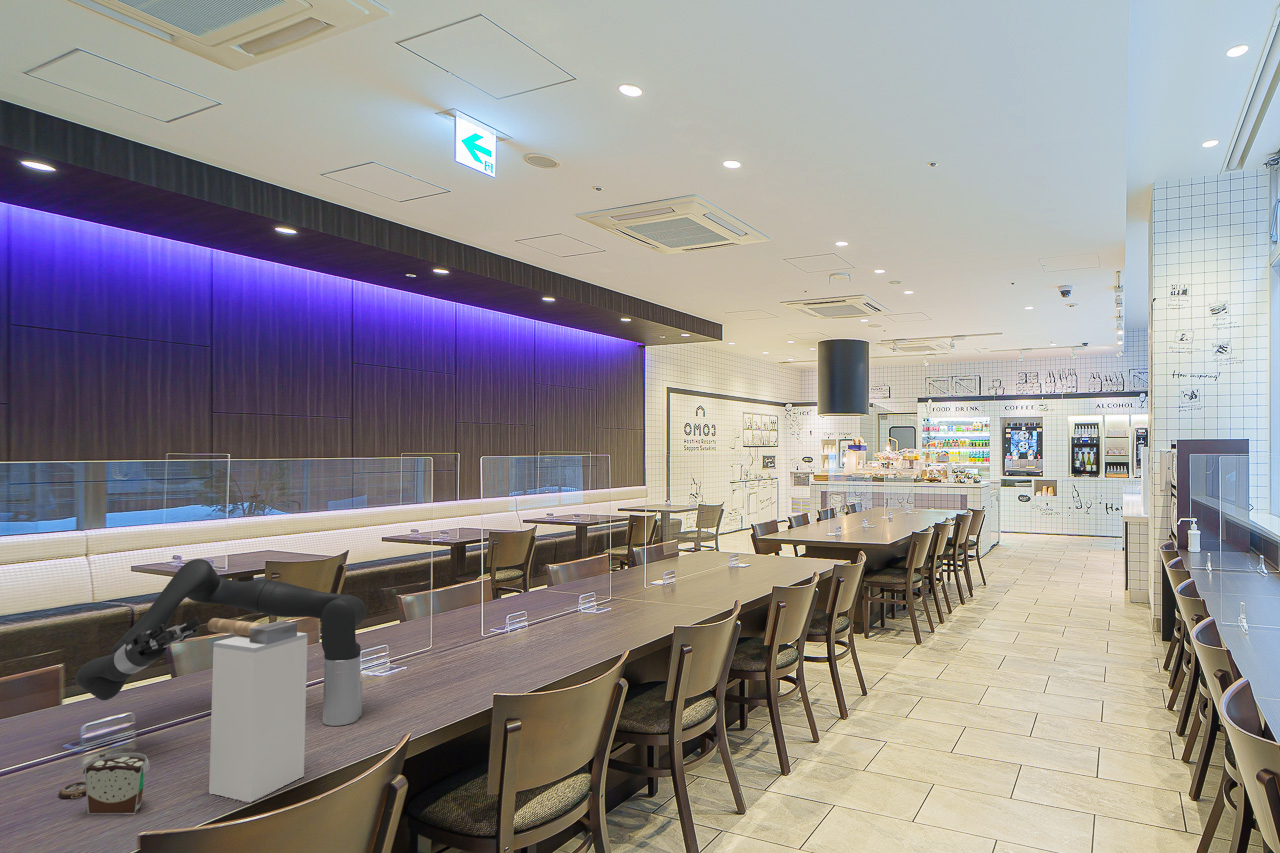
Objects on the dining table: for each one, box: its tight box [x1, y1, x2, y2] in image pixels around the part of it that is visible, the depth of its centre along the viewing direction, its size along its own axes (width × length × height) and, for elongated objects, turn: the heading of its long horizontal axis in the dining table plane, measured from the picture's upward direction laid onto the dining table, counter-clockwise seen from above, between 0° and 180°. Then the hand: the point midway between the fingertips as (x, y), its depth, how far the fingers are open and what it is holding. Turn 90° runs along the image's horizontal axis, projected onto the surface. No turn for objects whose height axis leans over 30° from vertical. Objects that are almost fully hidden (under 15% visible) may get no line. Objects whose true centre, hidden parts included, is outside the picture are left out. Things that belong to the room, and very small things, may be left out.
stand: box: [208, 631, 309, 802], centre depth 163 cm, size 14×12×32 cm
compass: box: [57, 753, 106, 799], centre depth 158 cm, size 8×8×7 cm
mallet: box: [207, 617, 298, 645], centre depth 165 cm, size 21×8×3 cm, turn 68°
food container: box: [81, 752, 150, 815], centre depth 152 cm, size 12×6×10 cm, turn 92°
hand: (181, 624), depth 175 cm, fingers open, 8 cm apart
